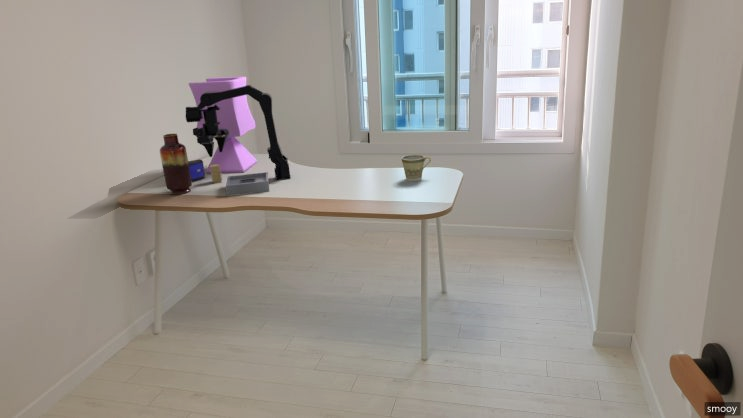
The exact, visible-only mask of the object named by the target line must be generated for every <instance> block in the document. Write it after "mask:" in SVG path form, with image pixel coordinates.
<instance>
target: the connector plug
mask: <svg viewBox="0 0 743 418" xmlns="http://www.w3.org/2000/svg"><path fill="white" fill-rule="evenodd" d="M210 170H211V173H210V175H211V182H212V184H218V183H221V184H222V181H223V178H222V173H221V171H220V165H219V164H215V165H211V166H210Z"/></svg>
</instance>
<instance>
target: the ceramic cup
mask: <svg viewBox="0 0 743 418" xmlns="http://www.w3.org/2000/svg"><path fill="white" fill-rule="evenodd" d="M426 159H429V160H428V162H427V163H426V164H425V165H424V163H425V161H426ZM401 162H402V166H403V170H404V175H405V176H404V177H405V179H406V181H407V182H408V181H409V182H416V181H417V182H418V181H420V180H422V178H423V171H424V169H425V168H426V167H427V166H428V165H429V164H430V163H431V157H429V156H424V155H422V154H407V155H404V156H402V157H401Z"/></svg>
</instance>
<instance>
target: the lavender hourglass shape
mask: <svg viewBox="0 0 743 418" xmlns="http://www.w3.org/2000/svg"><path fill="white" fill-rule="evenodd" d="M246 85H247V76H227V77H224V76H223V77H210V78H209V77H208V78H206V79H205V81H200V82H197V81H196V82H188V86H189V88H190V91H191V93H192V96H193V98H194V101H195V104H196V107H198V105H199V104H200V102H201V101H200V97H201V95H202V94H204V93H205V92H214V91H217V92H219V91H225V90H230V89H234V88H239V87H243V86H246ZM247 99H248V97H247V95H243V96H239V97H234V98H230V99H225V100H222V101H220V102H217V103H215V104H213V105H211V106H205V107H204V108H203V109H207V107H213V106H215V105H217V106H218V107H220V110H216V113H217V120H218V122H220V124H219V125H218V127H219V129H227V130H228V131H229V135H227V136H228V137H227V139H226V142H225V145H224V148H223V151H222V152H220V151H219V148H218V147H217V148H216V150H215V151H214V153H213V156H212V157H211V160H210V161H209V162H210V163H209V164H208V166H207V169H206V174H211V170H210V166H211V165H215V164H219V165H220V171H221V174H232V173H233V174H234V173H236V174H237V173H239V174H241V173H245V172H247V171H248V170H249V169H250V168H252V167H254V166H255V165H256V164H257V163H258V161H257V159H256V158H255V157H254V156H253V154H252V153H251V152H249V150H248V149H247V148H246V147H244V145H243V144H242V143H241V142H240V140H238V139H237V138H236V137H238V138H239V137H242V136H244V135H245V134H246V133H247V132H249V131H252V130H254V129H256V121H255V119H254V117H253V115H252V112H251V110H250V107H249V104H248V100H247ZM202 114H203V111H202ZM196 123H197V124H196V128H199V129H200V128H202V127H203V124H204V123H205V122H204V115H203V119H201V121H200V122H196ZM197 138H198V137H196V139H197ZM254 164H255V165H254Z"/></svg>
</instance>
